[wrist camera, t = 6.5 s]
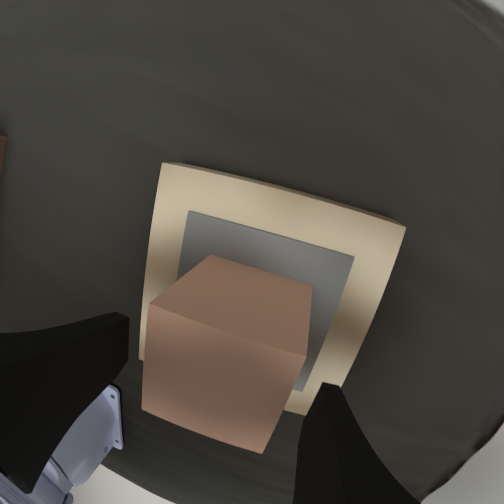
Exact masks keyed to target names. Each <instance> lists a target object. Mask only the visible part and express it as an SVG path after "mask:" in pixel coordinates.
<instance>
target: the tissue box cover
mask: <svg viewBox="0 0 504 504" xmlns="http://www.w3.org/2000/svg"><path fill="white" fill-rule="evenodd" d="M7 138H8V137H7V136H4V135H1V134H0V181H1V174H2V167H3V160H4V154H5V149H6V143H7Z"/></svg>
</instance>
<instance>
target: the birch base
mask: <svg viewBox="0 0 504 504" xmlns="http://www.w3.org/2000/svg"><path fill="white" fill-rule="evenodd" d="M405 230H406V227H405V226H403V225H402V224H400V223H399V222H397V221H396V220H394V219H391V218H388V217H385V216H382V215H379V214H376V213H373V212H370V211H366V210H363V209H360V208H357V207H354V206H350V205H347V204H344V203H340V202H337V201H333V200H330V199H327V198H323V197H320V196H316V195H313V194H309V193H305V192H302V191H298V190H294V189H291V188H287V187H283V186H279V185H275V184H272V183H268V182H264V181H260V180H256V179H252V178H247V177H243V176H239V175H235V174H231V173H226V172H222V171H218V170H213V169H209V168H204V167H199V166H195V165H190V164H185V163H164V162H162V167H161V172H160V177H159V183H158V188H157V194H156V200H155V206H154V212H153V219H152V225H151V232H150V239H149V247H148V255H147V263H146V272H145V281H144V291H143V302H142V314H141V328H140V345H139V359H140V360H143V361H144V350H145V337H146V326H147V315H148V305H149V303H150V302H151V301H152V300H154V299H155V298H156V297H157V296H159V295H160V294H161V293H162V292H164V291H165V290H166V289H167V288H169V287H170V286H171V285H172V284H174V283H175V282H176V281H178V280H179V279H180V278H181V277H183V276H184V275H185V274H186V273H188V272H189V271H190V270H191V269H193V268H194V267H195V266H197V265H198V264H199V263H200V262H202V261H203V260H204V259H205V258H207V257H208V256H209V255H214V256H217V257H221V258H224V259H227V260H230V261H234V262H237V263H240V264H243V265H247V266H250V267H253V268H257V269H260V270H263V271H266V272H270V273H273V274H276V275H280V276H283V277H286V278H290V279H293V280H296V281H300V282H303V283H306V284H310V285H312V299H311V312H310V324H309V336H308V347H307V357H306V359H305V361H304V364H303V366H302V369H301V371H300V373H299V376H298V378H297V380H296V383H295V385H294V387H293V389H292V392H291V394H290V396H289V398H288V401H287V403H286V405H285V407H284V409H283V410H286V411H290V412H294V413H298V414H302V415H306V414H307V412H308V411H309V409H310V407H311V405H312V403H313V401H314V399H315V396H316V394H317V392H318V390H319V388H320V386H321V384H322V382H326V383H330V384H335V385H339V386H340V388H341V386H342V384H343V382H344V380H345V378H346V376H347V374H348V372H349V370H350V368H351V366H352V364H353V362H354V360H355V358H356V355H357V353H358V351H359V349H360V347H361V345H362V342H363V340H364V338H365V336H366V333H367V331H368V329H369V327H370V324H371V322H372V320H373V317H374V315H375V312H376V310H377V308H378V305H379V303H380V300H381V298H382V295H383V292H384V290H385V287H386V285H387V282H388V279H389V277H390V274H391V271H392V268H393V266H394V263H395V260H396V257H397V254H398V251H399V248H400V245H401V242H402V239H403V236H404V233H405Z"/></svg>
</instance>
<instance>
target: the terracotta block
mask: <svg viewBox="0 0 504 504" xmlns="http://www.w3.org/2000/svg"><path fill="white" fill-rule="evenodd" d="M311 299H312V285H310V284H306V283H303V282H300V281H296V280H293V279H290V278H286V277H283V276H280V275H276V274H273V273H270V272H266V271H263V270H260V269H257V268H253V267H250V266H247V265H243V264H240V263H237V262H234V261H230V260H227V259H224V258H221V257H217V256H214V255H209V256H208V257H207V258H205V259H204V260H203V261H202V262H200V263H199V264H198V265H197V266H195V267H194V268H193V269H191V270H190V271H189V272H188V273H186V274H185V275H184V276H183V277H181V278H180V279H179V280H178V281H176V282H175V283H174V284H172V285H171V286H170V287H169V288H167V289H166V290H165V291H164V292H162V293H161V294H160V295H159V296H157V297H156V298H155V299H154V300H152V301H151V302H150V303H149V305H148V315H147V326H146V337H145V350H144V365H143V384H142V410H145V411H147V412H149V413H151V414H153V415H155V416H158V417H160V418H162V419H165V420H167V421H169V422H172V423H174V424H177V425H179V426H181V427H184V428H186V429H189V430H192V431H194V432H197V433H200V434H202V435H205V436H208V437H211V438H213V439H216V440H219V441H222V442H225V443H228V444H231V445H234V446H238V447H241V448H244V449H247V450H251V451H254V452H258V453H261V454H262V453H263V451H264V449H265V447H266V445H267V443H268V441H269V439H270V437H271V435H272V433H273V430H274V428H275V426H276V424H277V422H278V420H279V418H280V416H281V414H282V411H283V409H284V407H285V405H286V403H287V401H288V398H289V396H290V394H291V392H292V389H293V387H294V385H295V383H296V380H297V378H298V376H299V373H300V371H301V369H302V366H303V364H304V361H305V359H306V357H307V347H308V336H309V324H310V312H311Z"/></svg>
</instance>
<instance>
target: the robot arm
mask: <svg viewBox="0 0 504 504" xmlns="http://www.w3.org/2000/svg"><path fill="white" fill-rule="evenodd" d="M128 341H129V317H127V316H125V315H122V314H120V313H118V312H113V313H108V314H104V315H100V316H97V317H93V318H89V319H86V320H82V321H78V322H74V323H71V324H67V325H62V326H57V327H53V328H48V329H43V330H37V331H29V332H19V333H0V504H73V496H72V494H71V493H70V492H69V491H70V489H71V488H72V487H76V486H79V485H81V484H83V483H84V482H86V481H87V480H88V478H89V477H90V476H91V475H92V473H93V472H94V471H95V470H96V468H97V467H98V465H99V464H100V463H101V462H102V460H103V459H104V458H105V456H106V455H107V454H108V452H109V451H110V450H111V449H112V447H113V446H114V447H115V448H117V449H120V450H121V449H122V448H123V438H122V426H121V412H120V394H119V391H118V389H117V388H116V387H114V386H112V385H110V383H111V382H112V381H113V380H114V379H115V378H116V377H117V375H118V374H119V372H120V371H121V370H122V368H123V367H124V365H125V364H126V362H127V361H128ZM293 504H421V503H420V502H418V501H417V500H416V499H415V498H414V497H413V496H412V495H411V494H410V493H408V492H407V491H406V490H405V488H404V487H403V486H402V485H401V484H400V483H399V482H398V481H397V480H396V479H395V478H394V477H393V475H392V474H391V473H390V472H389V471H388V469H387V468H386V467H385V465H384V464H383V463H382V462H381V460H380V459H379V458H378V456H377V455H376V453H375V452H374V450H373V449H372V447H371V445H370V444H369V442H368V441H367V439H366V437H365V436H364V434H363V432H362V430H361V428H360V427H359V425H358V423H357V421H356V419H355V417H354V415H353V413H352V411H351V409H350V407H349V405H348V403H347V401H346V399H345V396H344V394H343V392H342V390H341V388H340V386H339V385H335V384H330V383H326V382H322V384H321V386H320V388H319V390H318V392H317V394H316V396H315V399H314V401H313V403H312V405H311V407H310V409H309V411H308V412H307V414H306V416H305V418H304V420H303V424H302V429H301V434H300V439H299V444H298V455H297V467H296V479H295V490H294V498H293Z"/></svg>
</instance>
